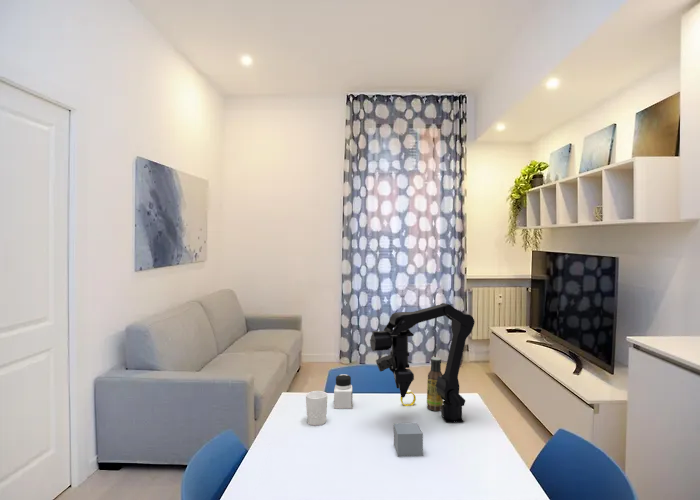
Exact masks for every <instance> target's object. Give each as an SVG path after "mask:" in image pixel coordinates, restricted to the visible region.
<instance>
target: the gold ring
mask: <svg viewBox="0 0 700 500" xmlns="http://www.w3.org/2000/svg"><path fill="white" fill-rule="evenodd" d="M409 394H412V396H413V400H412V402H411V403H407V404H405V403H404V402H403V398H402V397H401V396H400V402H401V404H402V405H403V406H404V407H411V406H413V405H415V404H416V403H415V402H416V400H417V399H416V395H415V393H414V392H412V390H411V389H408V390H407V393H406V395H409Z"/></svg>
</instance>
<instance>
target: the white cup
mask: <svg viewBox="0 0 700 500" xmlns="http://www.w3.org/2000/svg"><path fill="white" fill-rule="evenodd" d="M305 404H306V406H305V407H306V408H305V409H306V416H307V417H306V419H307V423H308V425H309V426H314V427H316V426H323V425H325V424H326V422H327V413H328V412H327V411H328V393H327V392H325V391H323V390H312V391H310V392H307V393H305Z"/></svg>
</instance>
